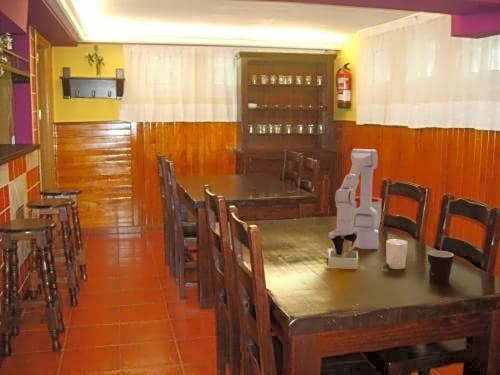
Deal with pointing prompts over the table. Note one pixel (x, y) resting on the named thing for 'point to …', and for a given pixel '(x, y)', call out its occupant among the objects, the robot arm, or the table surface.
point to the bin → (343, 261)
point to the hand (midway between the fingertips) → (343, 253)
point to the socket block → (345, 250)
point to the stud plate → (331, 248)
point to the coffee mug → (439, 266)
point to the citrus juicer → (375, 204)
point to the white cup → (396, 253)
